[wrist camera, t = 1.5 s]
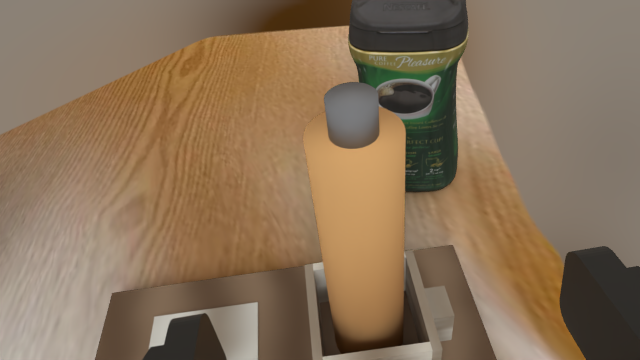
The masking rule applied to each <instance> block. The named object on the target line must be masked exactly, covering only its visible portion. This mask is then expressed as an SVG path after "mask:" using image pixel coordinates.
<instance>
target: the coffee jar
mask: <svg viewBox="0 0 640 360" xmlns="http://www.w3.org/2000/svg"><path fill="white" fill-rule="evenodd" d="M467 40H468V17H467V10H466V0H353V1H352V6H351V13H350V25H349V35H348V44H349V49H350V53H351V55H352V58H353V60H354V62H355V63H356V66H357V69H358V76H359V82H360V83H365V84H368V85H370V86H372V87H374V88H375V89H376V90H377V92H378V101H379V107H382V108H385V109H387V110H389V111H391V112H393V113H394V114H396V115H397V116H398V117H399V118H400V119H401V120H402V122H403V124H404V126H405V131H406V145H405V191H413V192H421V191H435V190H439V189H442V188H444V187H446V186H447V185H448V184H450V183H451V182H452V180H453V179H454V177H455V174H456V169H457V156H458V138H457V120H456V75H457V65H458V61H459V60H460V58H461V56H462V54H463V52H464V50H465V48H466V45H467Z"/></svg>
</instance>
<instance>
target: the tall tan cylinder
mask: <svg viewBox="0 0 640 360" xmlns="http://www.w3.org/2000/svg"><path fill="white" fill-rule="evenodd" d="M324 103H325V111H324V112H322V113H321V114H319V115H317V116H316V117H315V118H313V119H312V120H311V121H310V123H309V124H308V125H307V127H306V128H305V131H304V134H303V142H304V148H305V155H306V161H307V167H308V173H309V179H310V185H311V192H312V198H313V204H314V210H315V216H316V223H317V229H318V235H319V241H320V247H321V253H322V260H323V266H324V272H325V278H326V284H327V291H328V297H329V303H330V309H331V315H332V322H333V328H334V334H335V340H336V345H337V347H338V350H339V351H340V353H341V354H346V353H353V352H360V351H367V350H375V349H382V348H389V347H396V346H402V343H403V315H404V230H405V145H406V131H405V126H404V124H403V122H402V120H401V119H400V118H399V117H398V116H397V115H396V114H394V113H393V112H391V111H389V110H387V109H385V108H382V107H379V101H378V92H377V90H376V89H375V88H374V87H372V86H370V85H368V84H365V83H360V82H349V83H343V84H340V85H337V86H335V87H333V88H331V89H330V90H329V91H328V92H327V93H326V94H325V97H324Z"/></svg>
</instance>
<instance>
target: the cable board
mask: <svg viewBox="0 0 640 360" xmlns="http://www.w3.org/2000/svg"><path fill="white" fill-rule="evenodd" d="M203 313H206V314H207V315H208V316H209V318H210V321H211V323H212V325H213V327H214V330H215V332H216V334H217V337H218V339H219V341H220V343H221V346H222V348H223V350H224V352H225V355H226V359H227V360H497V359H496V357H495V354H494V352H493V349H492V346H491V344H490V341H489V338H488V336H487V333H486V331H485V328H484V325H483V323H482V320H481V318H480V315H479V312H478V310H477V307H476V304H475V302H474V299H473V297H472V294H471V291H470V289H469V286H468V284H467V281H466V278H465V276H464V273H463V270H462V268H461V265H460V263H459V260H458V257H457V255H456V252H455V250H454V247H453V245H449V246H442V247H434V248H427V249H420V250H406V251H404V315H403V343H402V346H396V347H389V348H382V349H375V350H367V351H360V352H353V353H346V354H341V353H340V351H339V350H338V347H337V345H336V340H335V334H334V328H333V322H332V315H331V309H330V303H329V297H328V291H327V284H326V278H325V272H324V266H323V262H321V263H314V264H307V265H304V266H300V267H293V268H286V269H279V270H272V271H265V272H258V273H251V274H243V275H236V276H229V277H222V278H215V279H208V280H201V281H194V282H187V283H180V284H173V285H166V286H159V287H151V288H144V289H137V290H130V291H123V292H116V293H112V296H111V300H110V304H109V308H108V311H107V315H106V319H105V323H104V327H103V331H102V334H101V338H100V342H99V346H98V350H97V354H96V357H95V360H142V359H143V358H144V356H145V355H146V353H147V352H148V350H149V349H150V347H154V346H160V345H164V342H165V338H166V334H167V330H168V326H169V323H170V321H171V320H172V319H174V318H179V317H185V316H191V315H197V314H203Z"/></svg>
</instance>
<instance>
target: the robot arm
mask: <svg viewBox="0 0 640 360" xmlns="http://www.w3.org/2000/svg"><path fill="white" fill-rule="evenodd" d="M560 308H561V313H562V316H563V319H564V322H565V324H566V326H567V328H568V330H569V332H570V333H571V335H572V337H573V338H574V340H575V342H576V343H577V345H578V347H579V348H580V350H581V352H582V353H583V355H584V357H585V358H586V360H640V267H639V266H636V267H629V268H626V267H625V266H624V264H623V263H622V262H621V261H620V259H619V258H618V257H617V256H616V255H615V253H614V252H613V251H612V250H611V249H609V248H608V247H605V246H602V247H596V248H590V249H585V250H579V251H572V252H569V253H568V254H567V256H566V259H565V266H564V273H563V280H562V287H561V294H560ZM142 360H227V359H226V355H225V352H224V350H223V348H222V346H221V343H220V341H219V339H218V337H217V334H216V332H215V330H214V327H213V325H212V323H211V321H210V318H209V316H208V315H207V314H206V313H203V314H197V315H191V316H185V317H179V318H174V319H172V320H171V321H170V323H169V326H168V330H167V334H166V338H165V342H164V345H160V346H154V347H150V349H149V350H148V352H147V353H146V355H145V356H144V358H143V359H142Z"/></svg>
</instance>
